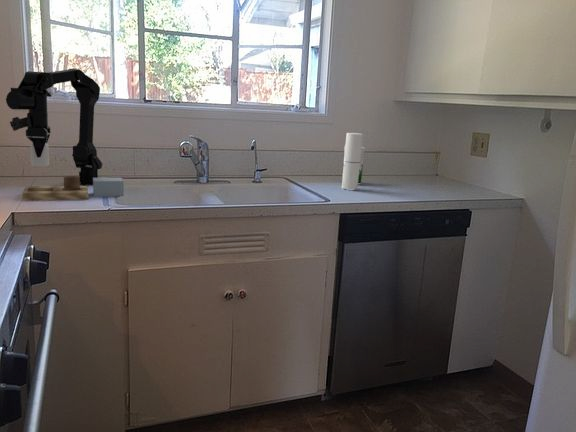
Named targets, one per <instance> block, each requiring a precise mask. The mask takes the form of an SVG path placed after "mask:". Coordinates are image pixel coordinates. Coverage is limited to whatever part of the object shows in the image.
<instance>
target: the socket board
mask: <svg viewBox="0 0 576 432" xmlns="http://www.w3.org/2000/svg"><path fill="white" fill-rule="evenodd" d="M88 189H89V188H88V185H80V190H69V191H64V185H43V186H42V185H39V186H38V185H37V186H36V185H35V186H34V185H33V186H32V185H31V186H30V185H29V186H25V187H24V189H23V191H22V193H21V195H22V199H21V200H22V201H23V202H24V201H25V202H26V201H28V202H29V201H32V202H33V201H73V200H74V201H77V200H78V201H79V200H82V201H84V200H89V190H88Z"/></svg>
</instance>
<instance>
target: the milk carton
mask: <svg viewBox="0 0 576 432" xmlns="http://www.w3.org/2000/svg"><path fill="white" fill-rule="evenodd" d="M343 146H344V150H343V151H344V152H343V153H344V154H343V155H344V156H345V145H343ZM365 151H366V147H364V146H362V148H361V158H360V168H359V178H358V183H362V177H363V168H364V167H363V166H364V158H365V157H364V156H365ZM344 156H343V157H344ZM343 167H344V163H343V165H342V168H343ZM341 178H343V174H342V176H341Z"/></svg>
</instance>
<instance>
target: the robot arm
mask: <svg viewBox="0 0 576 432" xmlns="http://www.w3.org/2000/svg"><path fill="white" fill-rule="evenodd" d="M68 82H70V86H71V87H72V89H74V90H75V94H76V95H75V96H76V98H77V101H78V103H79V131H78V133H79V134H78V143H77V144H76V145H73V146H72V155H71V156H72V159H73V161H74V165H75V168H78V169H80V170H79V171H78V176H80V186H89V185H91V186H93V178H99V174H98V173H99V171H98V170H100V169H103V168H102V167H103V162H102V160H101V159H100V158H99V157H98V151H97V148H96V146H95V145H94V142H93V141H94V121H95V120H94V118H95V117H94V115H95V105H96V104H97V102H98V101H99V99H100V94H101V87H100V86H99V84H98V82H96V80H94V79H93V78H92V77H90V76H89V75H87V74H85V72H84V71H83V70H81V69H80V68H68V69H63V70H57V71H49V72H45V71H32V70H31V71H29V70H28V71H26V72H25V73H24V76H23V77H22V80H21V82H20V83H19V85H18V87H10V91H9V92H8V93H7V95H6V97H5V102H6V104H7V107H9V108H10V109H11V110H15V111H16V110H21V111H22V110H24V111H25V110H28V112H27V113H26V117H22V118H20V117H19V116H15V117H12V120H11V121H9V124H10V127H11V128H12V130H13V132H15V131H18V130H20V129H23V128H27V129H25V136H26V138H27V139H28V140H29V141H30V142H31V143H33V145H34V149H35V152H36V156H37V157H41V155H42V152H43V149H44V146H45V144H46V143H47V144H48V142H49V138H50V136H51V133H52V129H51V126H49V121H48V120H49V113H48V98H50V97H51V98H52V97H53V96H52V94H51V93H50V92H49V91H48V90H49V89H50V88H53V87H54V85H58V84H62V83H68ZM47 89H48V90H47Z"/></svg>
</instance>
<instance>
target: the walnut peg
mask: <svg viewBox="0 0 576 432" xmlns="http://www.w3.org/2000/svg"><path fill="white" fill-rule="evenodd" d="M63 186H64V191H69V190H80V186H81V183H80V176H79V175H63Z"/></svg>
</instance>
